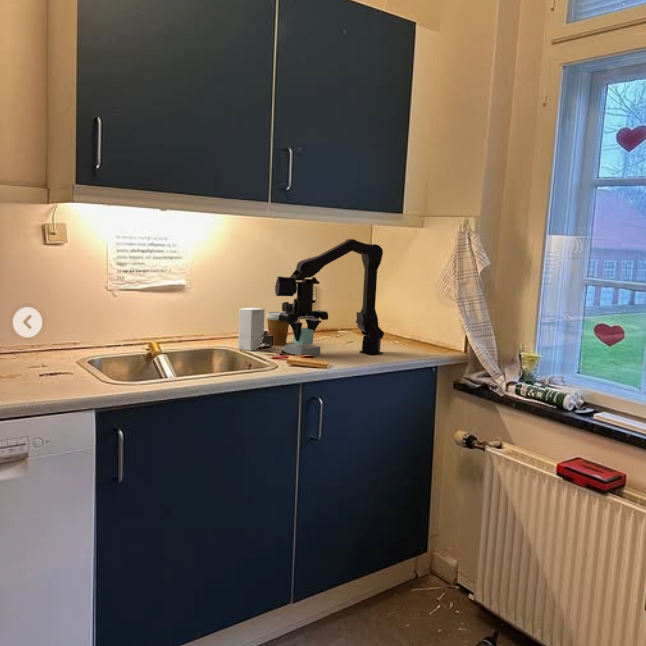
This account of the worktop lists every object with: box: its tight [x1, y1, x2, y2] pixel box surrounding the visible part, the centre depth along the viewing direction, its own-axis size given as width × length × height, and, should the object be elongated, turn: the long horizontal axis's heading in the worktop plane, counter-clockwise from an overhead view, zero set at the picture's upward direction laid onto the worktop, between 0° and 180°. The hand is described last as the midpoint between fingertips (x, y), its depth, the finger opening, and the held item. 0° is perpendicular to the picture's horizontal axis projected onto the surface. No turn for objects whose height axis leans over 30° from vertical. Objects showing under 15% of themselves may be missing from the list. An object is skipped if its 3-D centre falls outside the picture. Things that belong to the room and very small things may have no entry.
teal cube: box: [292, 327, 315, 345], centre depth 222 cm, size 5×5×5 cm
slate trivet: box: [283, 343, 321, 356], centre depth 223 cm, size 9×9×3 cm
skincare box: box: [237, 307, 266, 352], centre depth 227 cm, size 8×6×15 cm
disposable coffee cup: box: [265, 311, 290, 347], centre depth 238 cm, size 10×10×12 cm
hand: (303, 340), depth 222 cm, fingers closed on teal cube, 5 cm apart
